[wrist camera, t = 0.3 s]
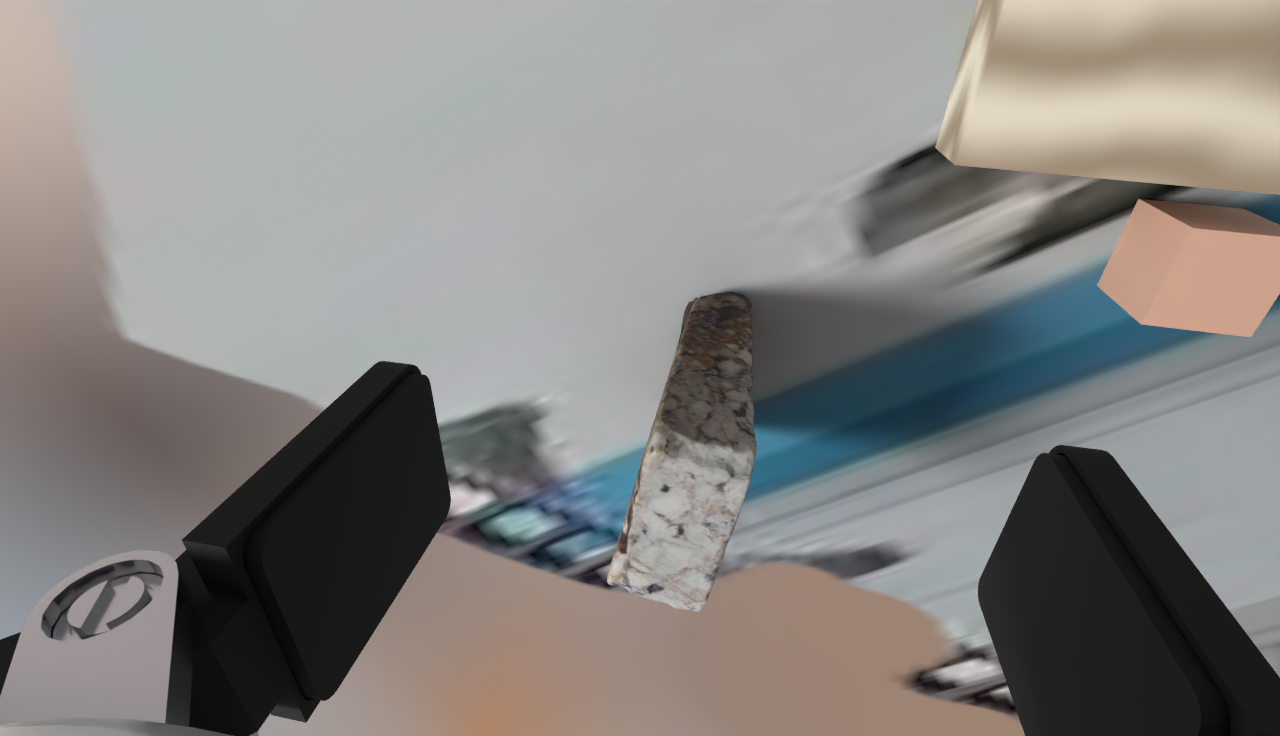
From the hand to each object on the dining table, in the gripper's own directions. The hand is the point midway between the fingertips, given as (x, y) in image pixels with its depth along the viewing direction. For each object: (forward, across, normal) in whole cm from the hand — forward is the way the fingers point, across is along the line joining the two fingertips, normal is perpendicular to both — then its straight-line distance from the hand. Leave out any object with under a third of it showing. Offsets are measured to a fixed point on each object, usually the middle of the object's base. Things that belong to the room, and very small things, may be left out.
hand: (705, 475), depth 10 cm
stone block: (+37, +2, +19) cm, 41 cm away
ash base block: (+36, -21, -6) cm, 42 cm away
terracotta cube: (+36, -28, +7) cm, 46 cm away
